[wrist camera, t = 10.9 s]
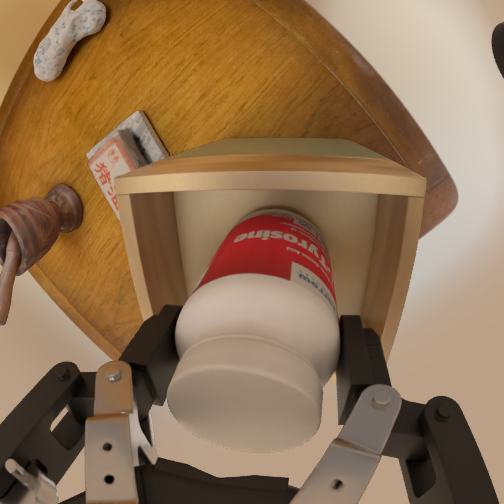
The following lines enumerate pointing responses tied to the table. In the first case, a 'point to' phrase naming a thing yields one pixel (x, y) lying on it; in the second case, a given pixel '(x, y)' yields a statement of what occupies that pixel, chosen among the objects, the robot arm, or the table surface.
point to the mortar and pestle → (32, 234)
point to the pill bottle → (258, 337)
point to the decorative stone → (67, 37)
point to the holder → (285, 198)
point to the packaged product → (124, 153)
